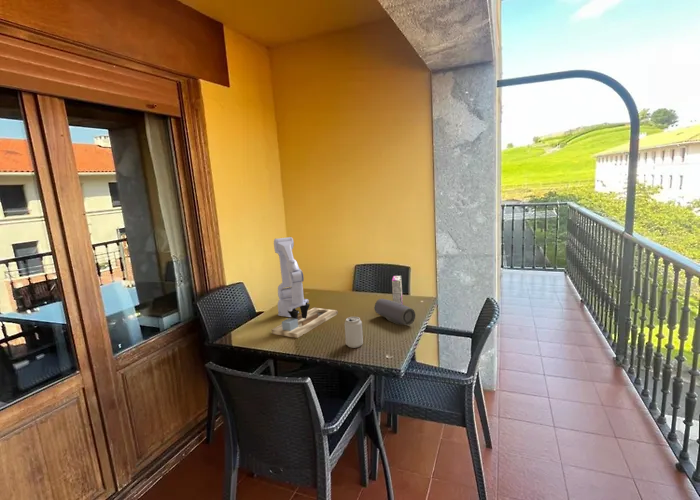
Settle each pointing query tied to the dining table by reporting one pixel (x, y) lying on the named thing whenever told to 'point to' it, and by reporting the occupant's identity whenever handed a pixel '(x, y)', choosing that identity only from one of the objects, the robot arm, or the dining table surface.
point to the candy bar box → (397, 289)
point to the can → (353, 332)
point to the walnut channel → (308, 319)
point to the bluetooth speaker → (395, 312)
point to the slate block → (289, 324)
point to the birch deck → (300, 330)
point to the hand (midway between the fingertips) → (299, 320)
